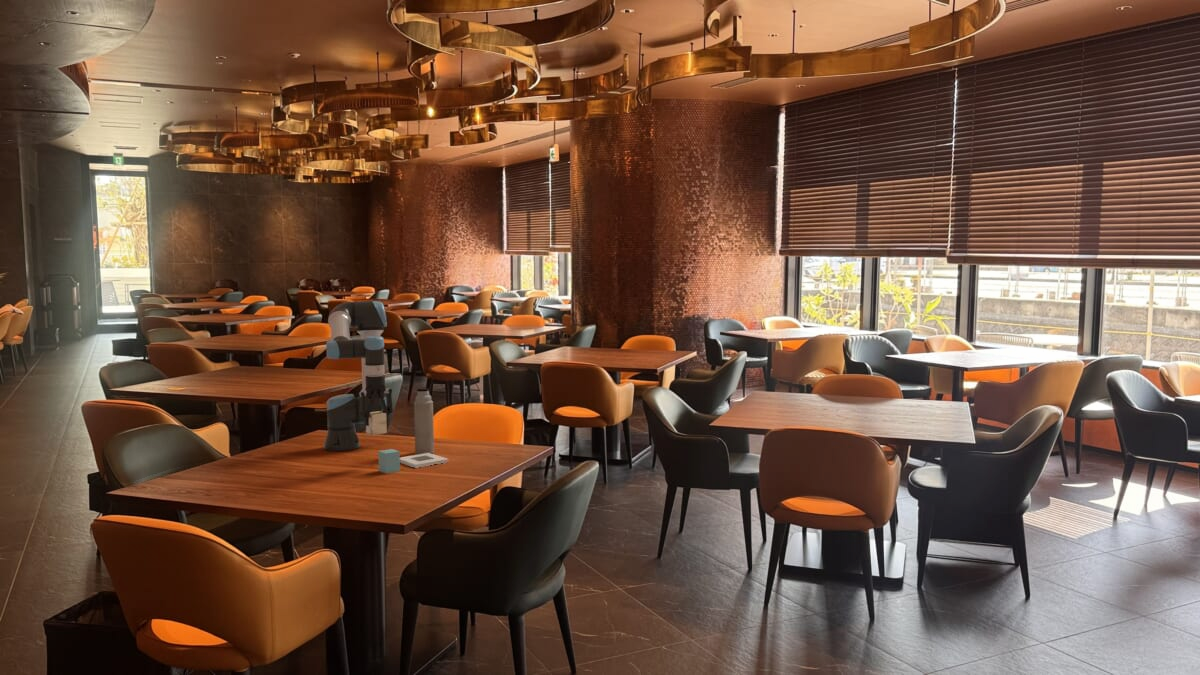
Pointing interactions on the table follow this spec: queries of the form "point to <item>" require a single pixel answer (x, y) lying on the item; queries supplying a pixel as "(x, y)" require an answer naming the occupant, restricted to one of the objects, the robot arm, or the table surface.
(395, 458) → the teal block
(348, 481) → the table surface
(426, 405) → the thermos bottle
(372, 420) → the maple block
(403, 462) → the base plate
